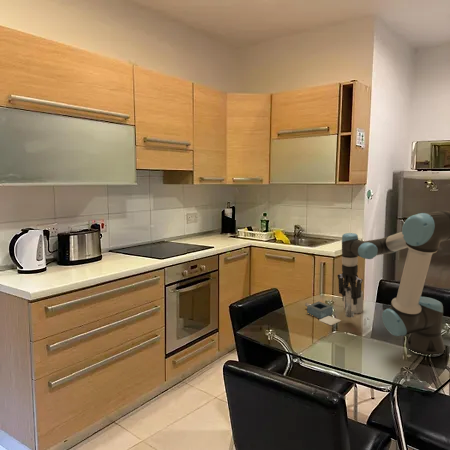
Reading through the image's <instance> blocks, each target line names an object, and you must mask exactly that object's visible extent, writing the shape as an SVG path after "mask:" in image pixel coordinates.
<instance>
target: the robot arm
mask: <svg viewBox="0 0 450 450" xmlns="http://www.w3.org/2000/svg"><path fill="white" fill-rule="evenodd" d="M341 236H342V237H341V272H342V273H340V274H337V275H336V276H337V279H338V293H339V294H340V295H341V297H342V302H343V310H344V309H345V310H346V291H345V288H346V287H349V286H351V290H352V296H353V298H351V311H354V310H356V304H357V299H358V298H360V297H361V291H362V283H363V281H364V280H363V278H360V277H359V275H358V271H359V268H358V267H359V265H358V263H359V261H358V260H359V259H358V258H359V257H360V258H362V259H366V260H372V259H374V258H375V257H377V256H380V255H386V254H388V255H389V254H394V253H397V251H400V250H404V249H408V250H407V254H406V257H405V262H404V267H403V270H402V274H401V278H400V283H399V286H398V290H397V293H396V294H397V295H396V297H394V298H392V300H391V302H390V307H388V308H386V309H384V310H383V311H382V314H381V320H382V323H383V325H384V328H386V330H387V331H388V333H390V334H391V335H392V336H394V337H402V336H407V335H409V336H408V337H407V340H406V348H407V350H408V349H410V350H412V351H414V352H417V353H421V354H428V355H430V354H432V355H433V354H439V353H442V352H443V351H444V350H445V351H446V346H445V343H444V339H443V337H442V331H443V330H442V328H443V317H444V316H443V315H444V306H443V303H442V302H441V301H439V300H437V299H435V298H432V297H427V296H422V294H423V289H424V286H425V284H426V283H425V282H426V278H427V276H428V275H427V274H428V271H429V268H430V264H431V260H432V256H433V254H436V253H437V252H438V251H439V248H440V244H441V242H445V241H446V242H447V241H450V211H448V210H438V211H432V212H421V213H419V212H418V213H417V214H413V215H410V216H408V217H407V219H406V220H405V221H404V223H403V224H402V228H401V231H400V232H397V233H393V234H391V235H389V236H385V237H382V238H378V239H371V240H360V239H359V236H358V234H357V233H353V232H348V233H347V232H346V233H343V234H342V235H341Z"/></svg>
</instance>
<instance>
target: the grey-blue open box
mask: <svg viewBox="0 0 450 450" xmlns="http://www.w3.org/2000/svg"><path fill="white" fill-rule="evenodd" d="M304 306H306V307H307V308H306V311H307V312H306V313H309V314H311V315H310V316H312V315H313V316H312V317H314V318H317V319H319V320H320V319H322V318H324V317H327V316H332V315H334V311H333V309H334V306H333V305H330V304H327V303H324V302H322V301H317V302H313V303H312V304H311V303H308V302H306V303H305V304H304ZM309 314H308V315H309Z"/></svg>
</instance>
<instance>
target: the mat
mask: <svg viewBox="0 0 450 450" xmlns="http://www.w3.org/2000/svg"><path fill="white" fill-rule="evenodd" d="M318 322H320V323H324V324H326V325H329V326H334V325H336V324H337V323H340V322H342V320H341V319H339V318H335V317H333V316H332V315H330V316H327V317H324V318H322V319H319V320H318Z"/></svg>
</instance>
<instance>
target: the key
mask: <svg viewBox="0 0 450 450" xmlns="http://www.w3.org/2000/svg"><path fill="white" fill-rule="evenodd" d="M345 291H346V308H345V317H346V318H350V319H352V318H354V316H355V314H354V311H351V298H353V296H352V290H351V285H348V287H346V288H345Z"/></svg>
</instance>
